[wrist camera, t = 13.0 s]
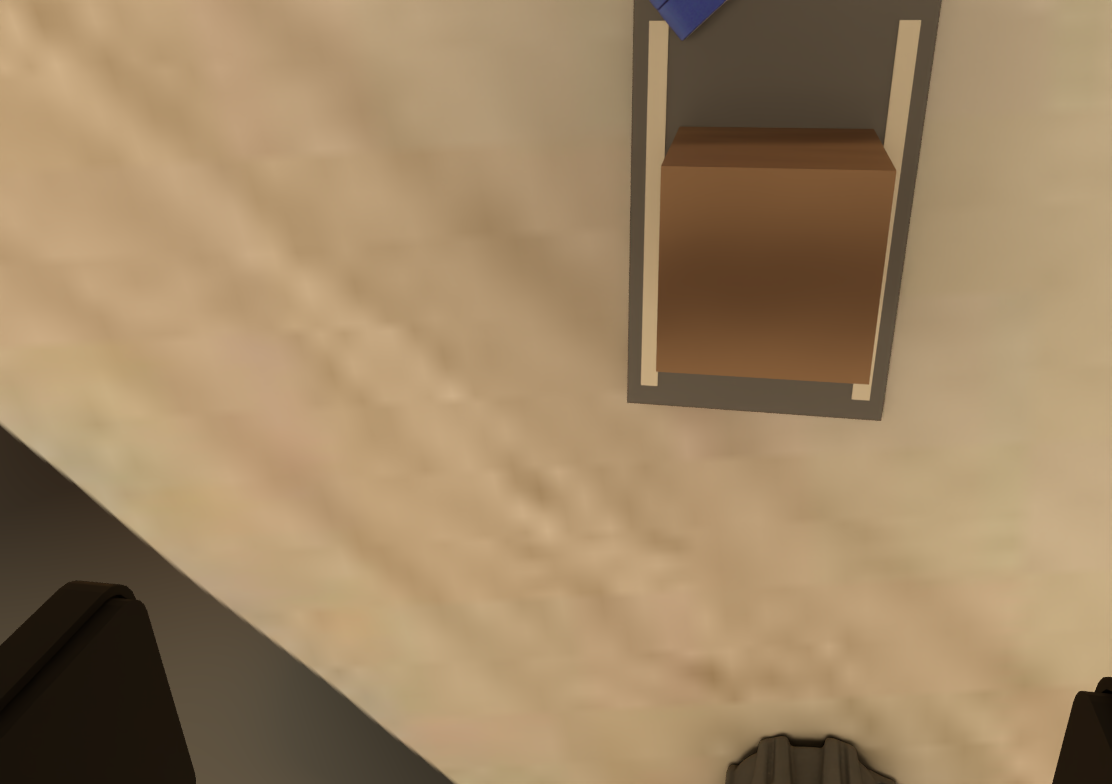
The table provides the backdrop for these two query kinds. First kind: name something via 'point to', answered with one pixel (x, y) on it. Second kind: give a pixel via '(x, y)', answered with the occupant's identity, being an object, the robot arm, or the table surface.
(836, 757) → the flashlight
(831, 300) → the cube
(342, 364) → the table surface
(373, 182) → the table surface
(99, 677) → the robot arm
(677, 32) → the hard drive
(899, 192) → the mat
